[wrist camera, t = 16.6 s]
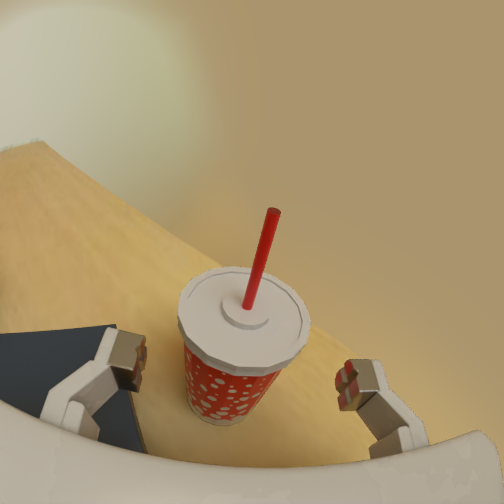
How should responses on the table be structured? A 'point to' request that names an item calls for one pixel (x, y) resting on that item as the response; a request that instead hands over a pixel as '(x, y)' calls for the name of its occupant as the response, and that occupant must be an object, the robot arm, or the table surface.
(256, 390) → the beverage cup
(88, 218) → the table surface
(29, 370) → the dark rectangular box
